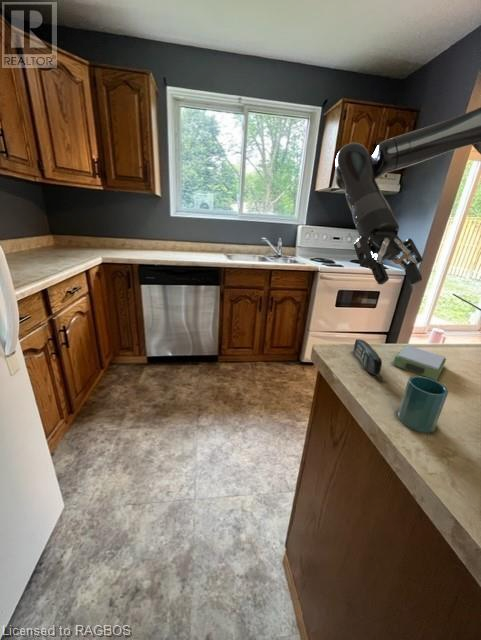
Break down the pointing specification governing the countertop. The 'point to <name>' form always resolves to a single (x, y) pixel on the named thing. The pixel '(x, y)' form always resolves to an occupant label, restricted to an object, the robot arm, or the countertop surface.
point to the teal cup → (422, 403)
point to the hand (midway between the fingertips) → (400, 282)
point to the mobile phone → (368, 357)
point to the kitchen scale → (420, 362)
